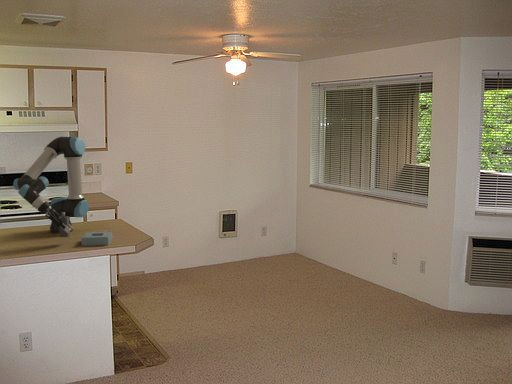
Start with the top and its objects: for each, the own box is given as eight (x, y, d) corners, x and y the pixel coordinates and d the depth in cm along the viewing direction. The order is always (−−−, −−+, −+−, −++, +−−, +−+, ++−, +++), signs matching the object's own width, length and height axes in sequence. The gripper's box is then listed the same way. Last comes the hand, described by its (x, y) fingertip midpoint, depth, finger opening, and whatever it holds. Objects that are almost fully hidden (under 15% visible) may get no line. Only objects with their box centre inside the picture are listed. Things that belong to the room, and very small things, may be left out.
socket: (87, 239, 370) (86, 232, 369) (112, 239, 371) (112, 231, 370) (81, 245, 354) (81, 237, 353) (108, 245, 355) (107, 237, 354)
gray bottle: (61, 235, 360) (60, 211, 358) (69, 235, 361) (68, 211, 358) (59, 237, 355) (57, 213, 353) (67, 237, 356) (66, 213, 353)
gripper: (41, 206, 363) (70, 231, 367) (32, 212, 345) (62, 238, 349) (49, 198, 363) (78, 223, 366) (41, 203, 345) (71, 229, 349)
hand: (70, 230), depth 358 cm, fingers closed on gray bottle, 5 cm apart
